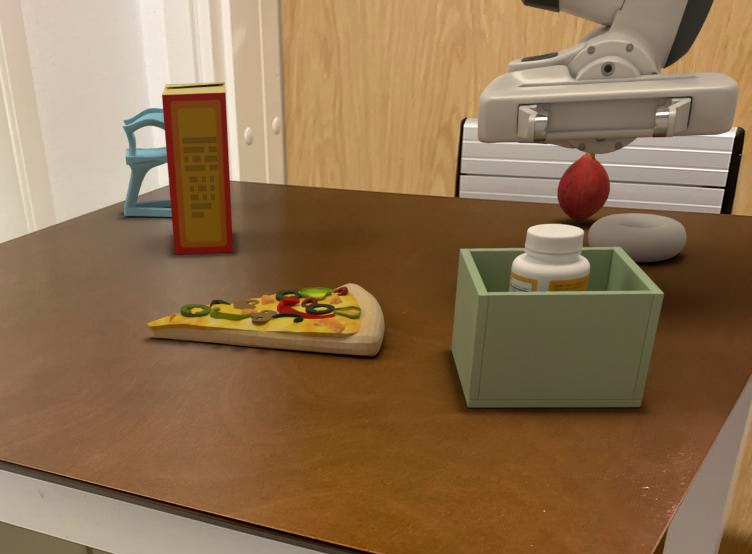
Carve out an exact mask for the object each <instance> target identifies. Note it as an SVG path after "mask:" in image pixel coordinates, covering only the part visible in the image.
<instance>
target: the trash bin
mask: <svg viewBox="0 0 752 554" xmlns="http://www.w3.org/2000/svg"><path fill="white" fill-rule="evenodd" d="M524 250H525V247H495V248H491V247H490V248H489V247H488V248H487V247H485V248H484V247H483V248H460V249H459V254H458V255H459V256H458V265H457V266H458V267H457V279H456V291H455V302H454V315H453V324H452V325H453V326H452V337H451V353H452V356H453V360H454V364H455V367H456V371H457V375H458V378H459V382H460V385H461V388H462V391H463V395H464V400H465V402H466V406H467V408H468V409H470V408H472V409H475V408H476V409H477V408H478V409H479V408H480V409H481V408H483V409H485V408H486V409H487V408H488V409H489V408H493V409H494V408H499V409H500V408H505V409H506V408H508V409H509V408H512V409H513V408H515V409H516V408H519V409H521V408H641V406H642V402H643V401H642V400H643V397H644V392H645V388H646V382H647V378H648V374H649V373H648V372H649V369H650V363H651V358H652V353H653V348H654V343H655V339H656V336H657V335H656V334H657V329H658V325H659V321H660V320H659V319H660V316H661V310H662V306H663V302H664V301H663V300H664V296H665V293H664V292H663V291H662V289H660V287H659V286H658V285H657V284H656V283H655V282H654V281H653V280H652V279H651V278H650V277H649V276H648V274H646V272H645V271H643V269H642V268H641V267H640V266H639V265H638V264H637V262H634V261H633V260H632V259H631V258H630V257H629V256H628V255H627V253H626V252H625V251H624V250H623V249H622V248H621V247H589V246H583V248H582V252H581V254H580V255H581V256H583V257H585V258H586V259H587V260H588V262H589V264H590V273H589V279H588V286H587V291H558V292H509V286H510V277H511V268H512V263H513V261H514V260H515V259H516V258H517V257H518V256H519V255H521V254H524V253H525V251H524Z"/></svg>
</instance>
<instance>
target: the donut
mask: <svg viewBox="0 0 752 554" xmlns="http://www.w3.org/2000/svg"><path fill="white" fill-rule="evenodd" d="M687 237H688V235H687V232H686V228H685V227H684V225H683V224H682V223H681V222H680V221H678V220H676V219H674V218H671V217H669V216H665V215H659V214H653V213H637V212H636V213H635V212H632V213H617V214H615V213H613V214H610V215H605V216H603V217H600V218H599V219H597V220H596V221H595V222H594V223H592V225H591V226H590V227H589V230H588V233H587V243H588V247H621V248H622V249H623V250H624V251H625V252H626V253H627V255H628V256H629V257H630V258H631V259H632V260H633V261H634V262H635V263H638V264H639V263H642V264H643V263H657V262H662V261H666V260H669V259H672V258H674V257H675V256H677V255H678V254H679V253H680V252H681V251H682V250H683V249H684V248H685V246H686V243H687V240H688V239H687Z"/></svg>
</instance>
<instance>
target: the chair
mask: <svg viewBox="0 0 752 554" xmlns="http://www.w3.org/2000/svg"><path fill="white" fill-rule="evenodd" d="M122 122H123V123H124V125H122V128H123V131H124V133H125V135H126V138H127V143H128V148H126V149H125V162H126V163H125V165H126V166H129V168H130V177H129V182H128V187H127V192H126V196H125V199H124V205H123V207H124V209H123V212H124V213H123V216H124V217H159V218H161V217H164V218H172V214H171V201H170V198H163V199H154V200H146V201H138V198H139V195H140V191H141V187H142V185H143V182H144V179H145V177H146V175H147V173H148V172H149V171H150V170H152V169H155V168H156V167H159V166H162V165H165V164H167V152H166V146H162V147H154V148H153V147H152V148H151V147H150V148H143V147H141V148H139V147H137V140H136V135H135V133H136V131H138V130H140V129H143V128H144V127H155V128H159V129H161V130H163V131H165V127H164V115H163V108H160V107H150V108H149V107H148V108H146V109H144V110H142V111H140V112H139V113H137V114H136V115H134V116H132V117H130V118H127V119H123V120H122ZM134 132H135V133H134Z"/></svg>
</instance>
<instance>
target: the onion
mask: <svg viewBox="0 0 752 554" xmlns="http://www.w3.org/2000/svg"><path fill="white" fill-rule="evenodd" d="M610 192H611V181H610V176H609V174H608V172H607V170H606V168H605V167H604V166H603V164H602V163H601V162H600V161H599V160H598V159H596V154H590V153H586V152H584V154H582V155H581V156H580V157H579V158H578V159H577V160H575V161H573V163H572V164H570V165H569V166H568V168H566V169H565V171H564V173H563V174H562V176H561V177H560V180H559V182H558V186H557V193H556V194H557V197H556V198H557V202H558V204H559V208H560V209H561V210H562V211H563V213H564V214H566V215H567V216H568V217H569V218H570V220H572V221H573V222H574V223H576V224H578V225H579V224H581V225H582V224H584V223H585V222H586V221H587V220H588V219H590V218H591V217H593V216H594V215H595V214H596V213H598V212H599V211H600V210H601V209H602V208H603V207H604V206H605V204H606V202H607V201H608V199H609V196H610Z"/></svg>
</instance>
